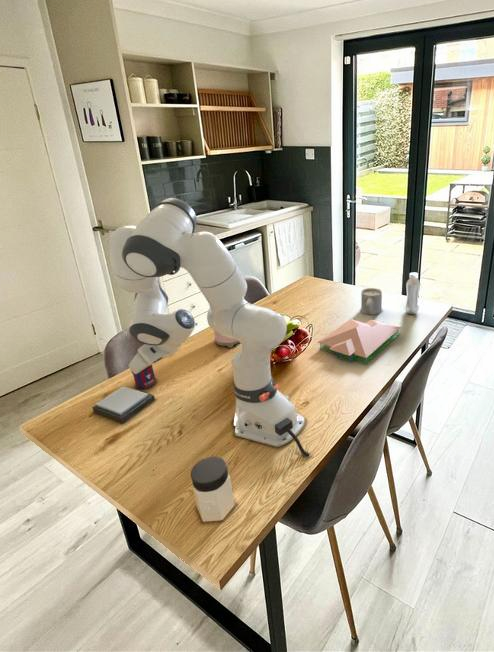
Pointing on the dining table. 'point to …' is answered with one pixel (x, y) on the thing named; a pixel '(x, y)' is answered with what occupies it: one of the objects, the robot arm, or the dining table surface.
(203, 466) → the jar
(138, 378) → the cup
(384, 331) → the house
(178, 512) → the dining table surface
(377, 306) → the coffee mug
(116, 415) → the scale
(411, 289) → the plastic bottle
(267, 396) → the robot arm
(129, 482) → the dining table surface
